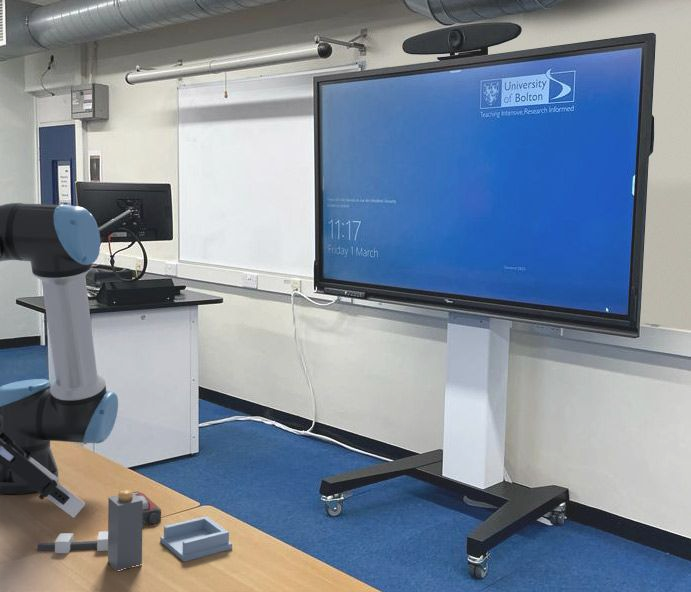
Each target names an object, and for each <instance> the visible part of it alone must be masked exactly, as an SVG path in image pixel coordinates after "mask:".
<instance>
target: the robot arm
mask: <svg viewBox="0 0 691 592" xmlns="http://www.w3.org/2000/svg"><path fill="white" fill-rule="evenodd" d="M100 246H101V235H100V231H99V226H98V224H97V221H96V219H95V217H94V216H93V214H92V213H91V212H90V211H88V209H86V208H85V207H82V206H79V205H78V206H77V205H69V204H65V203H64V204H62V203H61V204H52V203H51V204H49V203H48V204H47V203H23V202H10V203H5V204H2V205H1V204H0V262H4V261H5V262H6V261H19V262H21V261H24V262H30V264H31V265H30V266H31V271H32V274H33V276H34V277H36V278H38V279H39V280H40V281H41V286H42V292H43V301H44V307H45V313H46V320H47V321H46V322H47V326H48V327H47V328H48V329H47V330H48V336H49V341H50V348H51V349H50V350H51V354H52V355H51V356H52V363H53V370H54V376H55V377H54V379H55V381H54V382H53V383H51V381H50V380H48V379H46V378H37V379H36V378H34V379H26V380H25V379H24V380H20V381H19V380H18V381H14V382H10V383H6V384H4V385H1V386H0V494H2V495H3V494H4V495H24V494H31V493H36V492H38V493H39V496H38V498H39V499H40V500H41V501H43V500H44V499H45V498H46V499H48V500H49V501H51V502H52V503H53V504H54V505H56V506H57V507H59V509H60V510H62V511H64V512H65V513H67V515H70V516H71V517H72V518H75V517H76V516H77V515H78V514H79V512H80V511H81V510H82V509H83V508H84V507H85V506H86V503H85V502H84V501H83V500H82V499H80V498H79V497H77V496H76V495H75V494H74V493H72V492H71V491H70V490H68V489H67V488H66V487H65V486H63V485H62V484H61V483H59V482H58V481H59V468H58V465H57V462H56V459H55V456H54V455H53V452H52V448H51V442H52V441H54V442H64V443H65V442H66V443H80V444H81V443H82V444H84V445H87V444H101V443H104V442H105V441H106V440H107V439H108V438H109V436H110V435H111V433H112V431H113V429H114V427H115V423H116V421H117V420H116V419H117V417H118V410H119V398H118V395H117V394H116V393H115V392H114V391H112V390H108V391H107V386H106V380H105V379H104V378H103V377H102V376H100V375H98V371H97V363H96V362H97V361H96V355H95V346H94V337H93V331H92V330H93V328H92V321H91V313H90V304H89V303H90V302H89V294H88V288H87V279H86V275H88V273H89V272H90V271H92V268H93V265H92V264H93V263H95V262H96V261H97V259H98V257H99V255H100V251H101V249H100Z"/></svg>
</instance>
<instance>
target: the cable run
mask: <svg viewBox="0 0 691 592" xmlns="http://www.w3.org/2000/svg"><path fill="white" fill-rule="evenodd" d="M74 535H75V534H74V533H71V532H69V533H67V532H66V533H64V532H63V533H62V532H61V533H59V534H58V536H57V538H56V539H55V541H54V542H38V543H37V544H36V545H37V546H36V551H54V553H55V554H69V553H70V551H71V550H86V549H88V550H89V549H96V551H97V552H102V551H103V552H105V551H106V552H108V530H107V531H106V530H104V531H98V535H97V539H96V540H87V541H74Z"/></svg>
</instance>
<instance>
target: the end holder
mask: <svg viewBox="0 0 691 592" xmlns="http://www.w3.org/2000/svg"><path fill="white" fill-rule="evenodd" d="M159 539H160V541H159V542H160V543H161V544H162V545H163V544H164V545H163V546H164V547H166V549H168V550H169V551H170V552H171V553H173V555H175V556H176V557H177V558H178V559H180V560H181V561H182V562H185V563H186V562H189V561H192V560H195V559H199V558H203V557H206V556H211V555H214V554H217V553H221V552H225V551H229V550H232V549H233V543H232V542H231V541H230V532H229V531H228V530H227V529H225V528H224V527H222V526H221V525H220V524H218V523H217V522H216V521H214V520H213V519H212V518H210V517H209V516H207V515H206V516H202V517H197V518H192V519H188V520H184V521H181V522H176V523H172V524H167V525H164V526H163V535H161V536H159Z"/></svg>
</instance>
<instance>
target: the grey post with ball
mask: <svg viewBox="0 0 691 592" xmlns="http://www.w3.org/2000/svg"><path fill="white" fill-rule="evenodd" d="M133 492H134V491H133V490H130V489H124V490H120V491H118V494H117V495H118V496H117V495H114V496H109V497H107V498H108V499H107V500H108V505H107V507H108V509H107V510H108V511H107V512H108V513H107V525H108V526H107V531H108V551H107V562H109V563H110V564H111V565H112V566H113V567H114V568H115V569H116V570H117V571H118V570H121V569H124V568H129V567H132V566H136V565H140V564H142V565H143V525H142V518H143V500H141V499H140V498H139V497H138V496H136V495H135V494H134V493H133ZM110 564H109V565H110ZM111 565H110V566H111ZM112 566H111V567H112ZM113 567H112V568H113ZM114 568H113V569H114ZM115 569H114V570H115ZM116 570H115V571H116ZM117 571H116V572H117ZM118 572H119V571H118Z"/></svg>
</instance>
